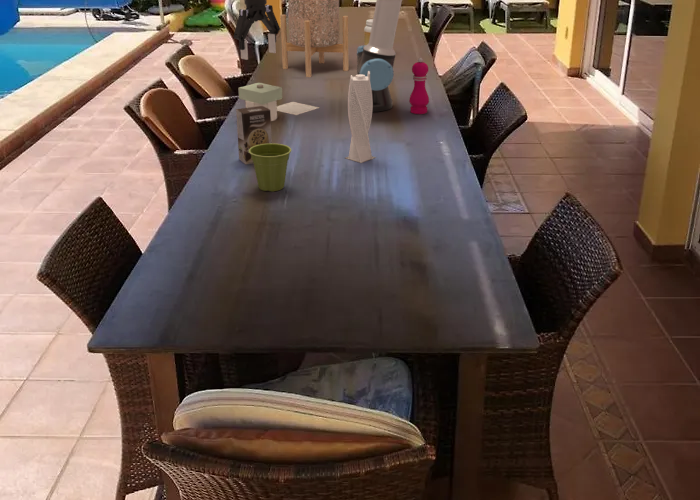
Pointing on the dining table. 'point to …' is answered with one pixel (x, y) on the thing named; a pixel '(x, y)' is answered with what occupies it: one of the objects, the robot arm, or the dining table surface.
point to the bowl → (271, 106)
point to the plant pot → (270, 165)
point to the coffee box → (252, 130)
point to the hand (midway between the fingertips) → (258, 55)
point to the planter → (314, 31)
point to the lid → (260, 93)
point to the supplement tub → (367, 31)
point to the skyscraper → (360, 117)
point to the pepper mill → (419, 88)
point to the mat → (295, 108)
